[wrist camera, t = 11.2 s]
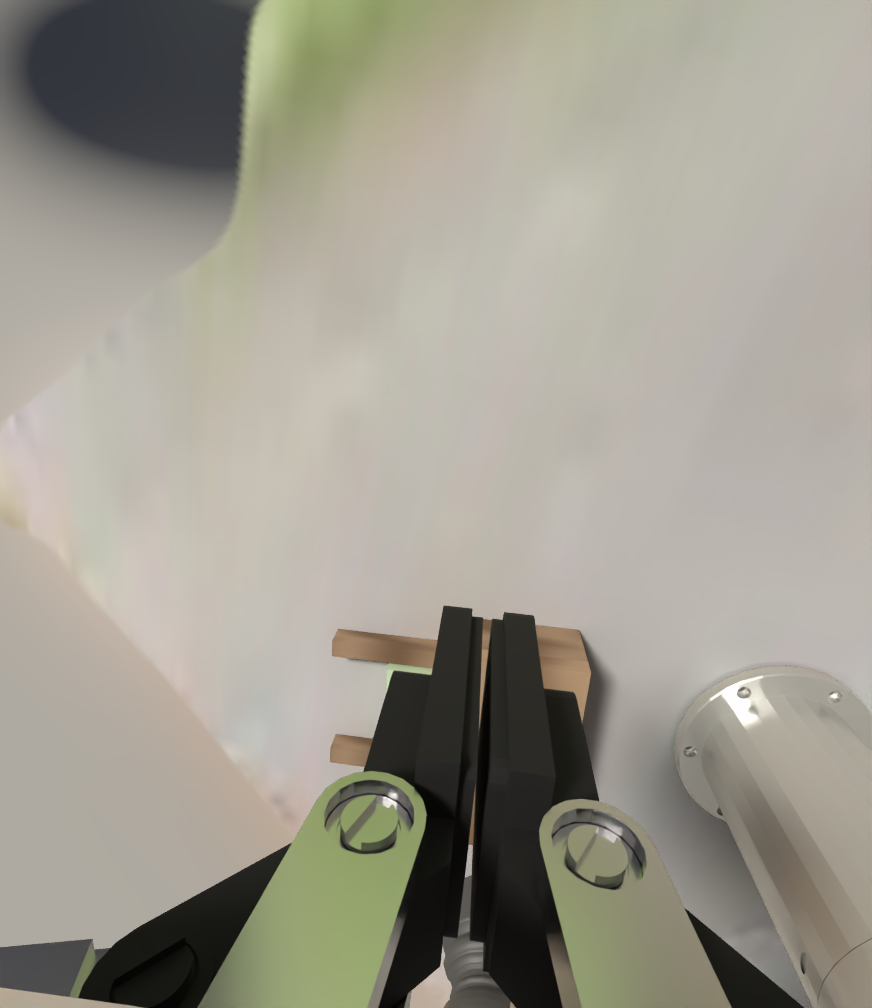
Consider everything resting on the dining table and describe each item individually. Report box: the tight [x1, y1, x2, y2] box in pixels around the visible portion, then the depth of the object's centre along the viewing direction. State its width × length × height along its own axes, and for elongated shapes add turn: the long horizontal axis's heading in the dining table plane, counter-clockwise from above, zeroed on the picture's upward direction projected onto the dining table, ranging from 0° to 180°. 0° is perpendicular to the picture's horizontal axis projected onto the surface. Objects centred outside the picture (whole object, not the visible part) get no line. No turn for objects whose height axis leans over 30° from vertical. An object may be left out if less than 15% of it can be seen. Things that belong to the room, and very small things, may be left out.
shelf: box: [330, 619, 591, 845], centre depth 38 cm, size 16×14×5 cm
